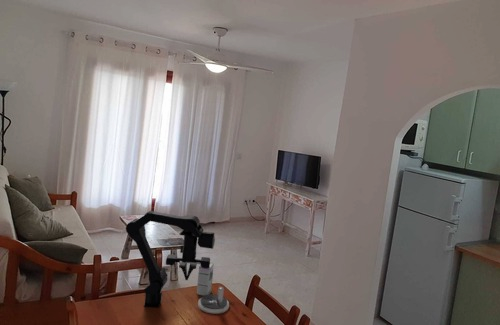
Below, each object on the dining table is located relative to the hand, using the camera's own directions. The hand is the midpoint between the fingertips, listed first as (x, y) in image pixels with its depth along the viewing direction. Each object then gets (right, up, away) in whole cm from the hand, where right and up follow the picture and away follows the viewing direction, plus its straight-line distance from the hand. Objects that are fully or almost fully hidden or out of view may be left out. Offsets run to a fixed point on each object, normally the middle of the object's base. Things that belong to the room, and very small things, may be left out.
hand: (186, 279), depth 165 cm
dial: (+11, -12, +6) cm, 18 cm away
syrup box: (+5, -12, +18) cm, 22 cm away
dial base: (+11, -14, +6) cm, 19 cm away
